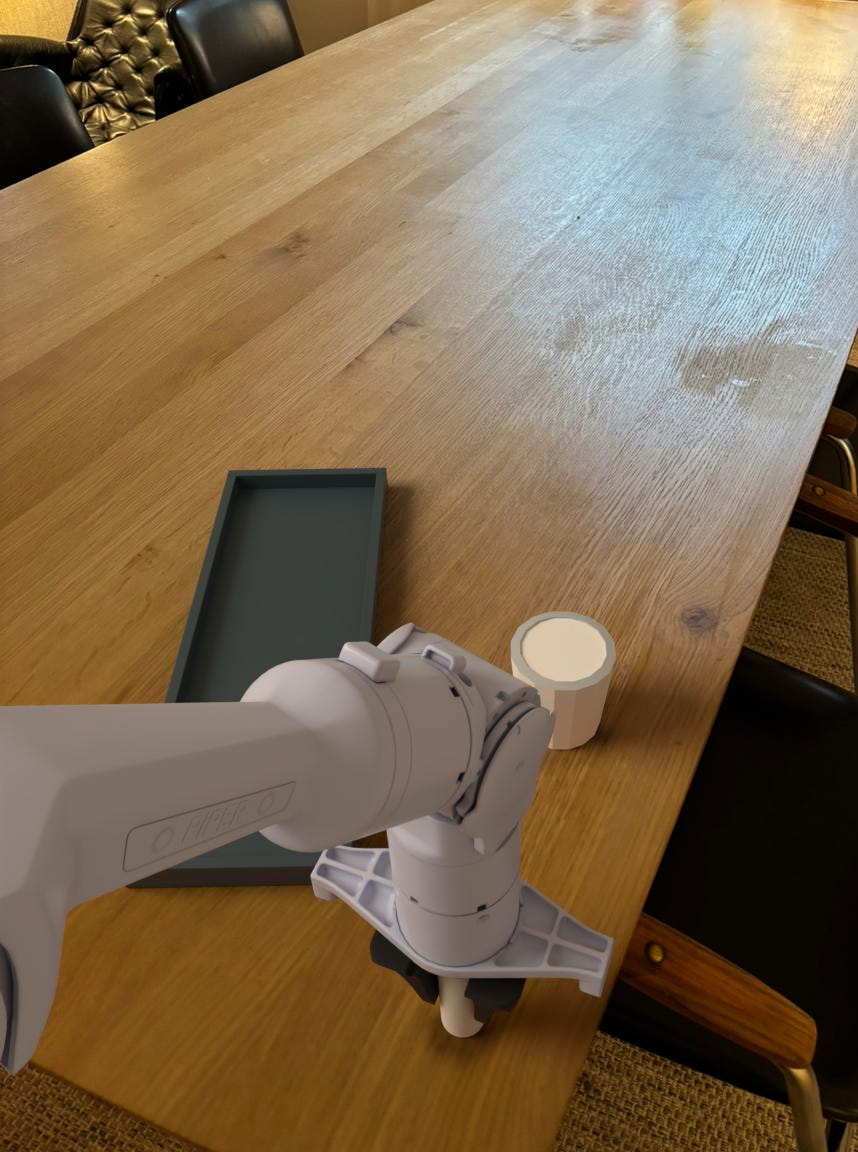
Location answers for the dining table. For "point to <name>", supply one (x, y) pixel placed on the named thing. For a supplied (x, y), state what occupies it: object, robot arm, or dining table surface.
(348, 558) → the desk tray
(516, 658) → the white cup
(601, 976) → the robot arm
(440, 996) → the glue stick
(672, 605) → the dining table surface
